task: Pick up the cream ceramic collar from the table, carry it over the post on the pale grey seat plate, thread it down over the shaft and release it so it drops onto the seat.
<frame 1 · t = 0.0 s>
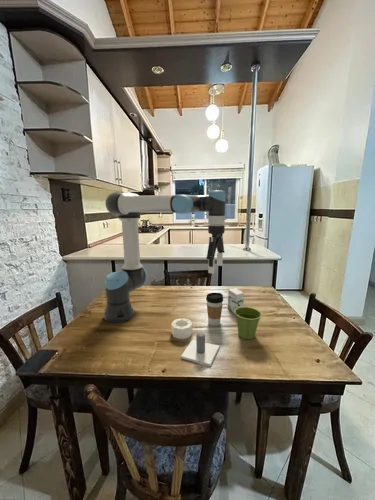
hand: (215, 269, 111), 28 cm above the table, fingers open, 13 cm apart
post: (200, 352, 93), on the table
coffee cup: (214, 322, 116), on the table
ink box: (235, 311, 129), on the table
plant pot: (246, 335, 105), on the table
collar: (182, 333, 107), on the table
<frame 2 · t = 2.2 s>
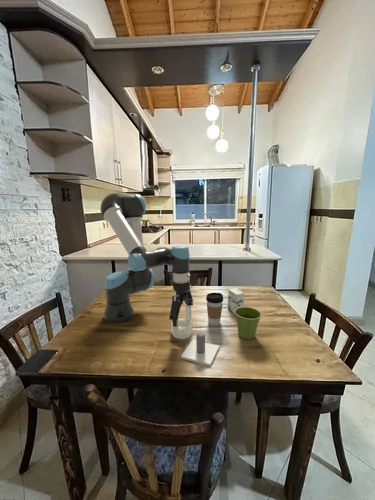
hand: (182, 324, 106), 4 cm above the table, fingers open, 13 cm apart
nothing on the table moved.
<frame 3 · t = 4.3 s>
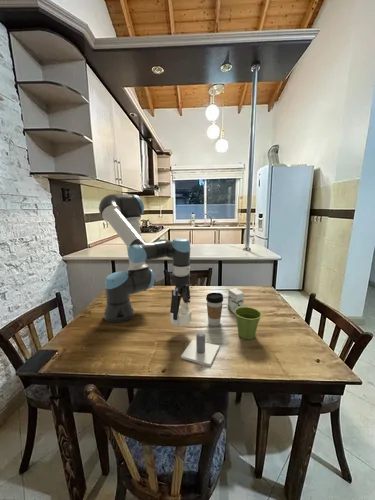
hand: (180, 320, 106), 6 cm above the table, fingers closed on collar, 9 cm apart
collar: (180, 320, 107), point 6 cm above the table, touching gripper
everything else where it was.
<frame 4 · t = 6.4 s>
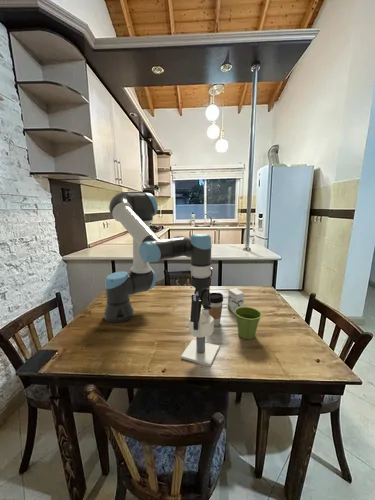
hand: (201, 329, 91), 10 cm above the table, fingers closed on collar, 9 cm apart
collar: (201, 330, 91), point 10 cm above the table, touching gripper
everything else where it was.
when the fingers open (2 cm above the table, at t = 8.4 s): collar drops 1 cm, resting on post.
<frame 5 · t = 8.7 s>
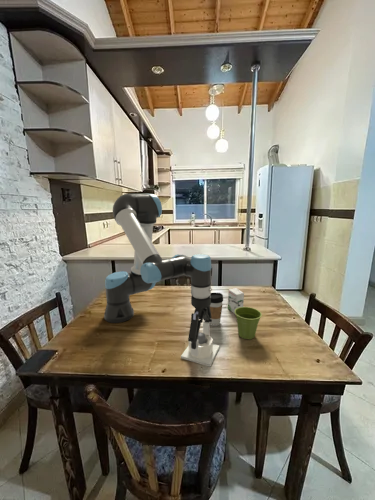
hand: (200, 345, 92), 4 cm above the table, fingers open, 13 cm apart
collar: (200, 350, 93), point 1 cm above the table, touching post
everything else where it was.
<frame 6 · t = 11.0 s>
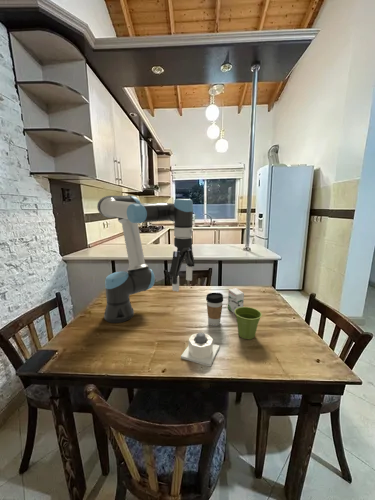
hand: (182, 285, 100), 24 cm above the table, fingers open, 13 cm apart
nothing on the table moved.
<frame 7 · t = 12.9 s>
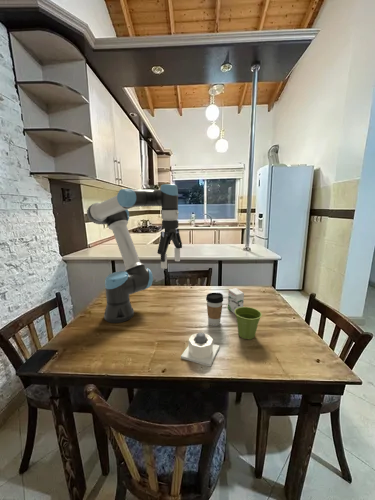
hand: (171, 264, 109), 31 cm above the table, fingers open, 13 cm apart
nothing on the table moved.
at the end: collar 0.0 cm from the post (horizontally); collar point 1.0 cm above the table; the gripper is holding nothing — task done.
